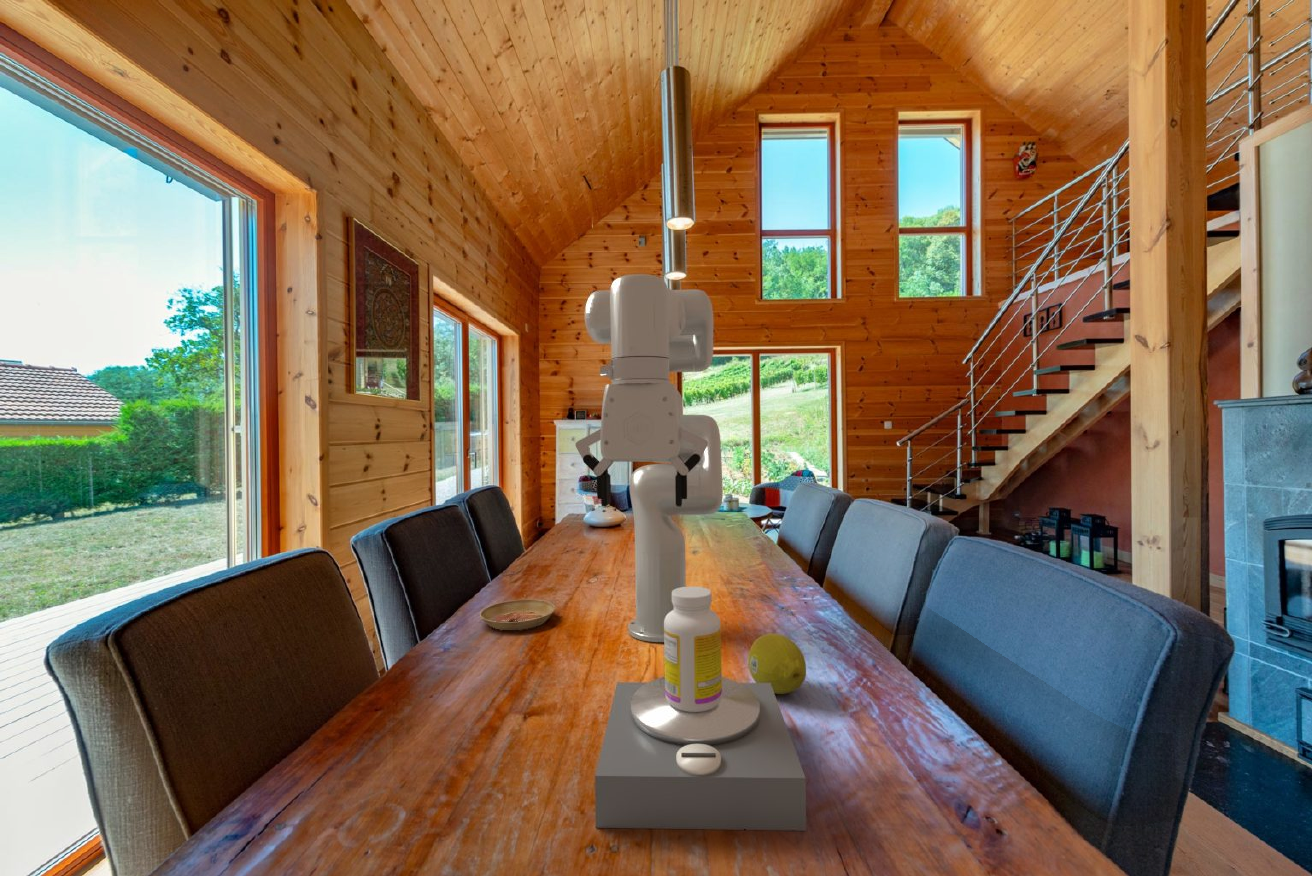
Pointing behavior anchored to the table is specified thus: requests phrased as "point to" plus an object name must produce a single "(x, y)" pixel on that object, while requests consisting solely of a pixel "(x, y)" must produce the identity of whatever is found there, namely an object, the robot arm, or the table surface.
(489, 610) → the plant saucer
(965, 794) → the table surface
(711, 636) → the supplement bottle
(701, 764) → the kitchen scale
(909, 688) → the table surface
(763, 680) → the lemon
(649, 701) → the scale pan
